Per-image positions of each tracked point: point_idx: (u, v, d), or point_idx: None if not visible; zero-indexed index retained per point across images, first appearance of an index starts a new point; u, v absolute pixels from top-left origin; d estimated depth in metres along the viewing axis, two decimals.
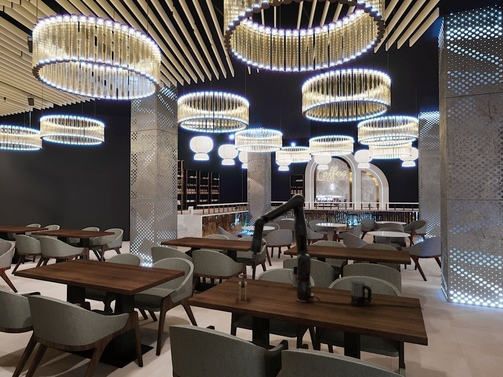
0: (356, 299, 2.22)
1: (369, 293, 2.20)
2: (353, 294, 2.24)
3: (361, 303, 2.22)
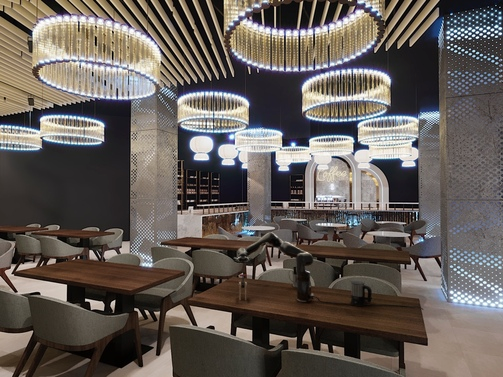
0: (356, 299, 2.22)
1: (369, 293, 2.20)
2: (353, 294, 2.24)
3: (361, 303, 2.22)
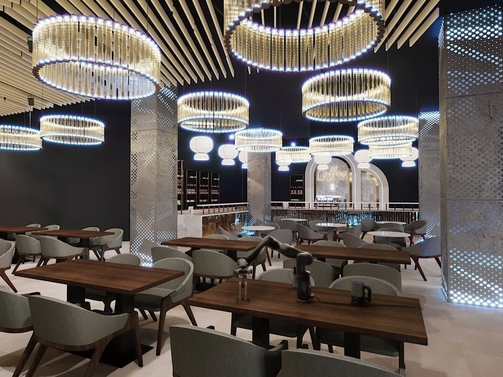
0: (356, 299, 2.22)
1: (369, 293, 2.20)
2: (353, 294, 2.24)
3: (361, 303, 2.22)
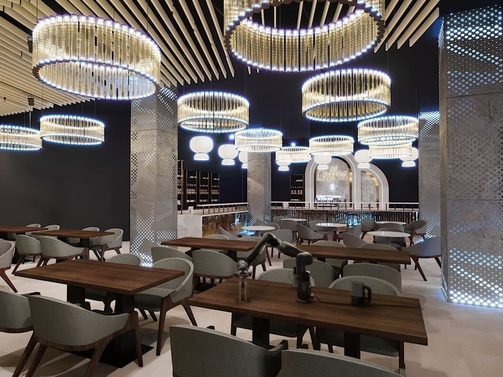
0: (356, 299, 2.22)
1: (369, 293, 2.20)
2: (353, 294, 2.24)
3: (361, 303, 2.22)
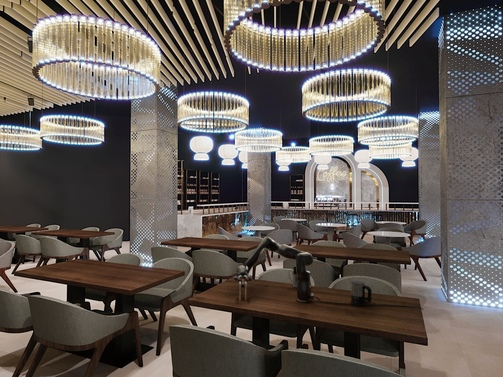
0: (356, 299, 2.22)
1: (369, 293, 2.20)
2: (353, 294, 2.24)
3: (361, 303, 2.22)
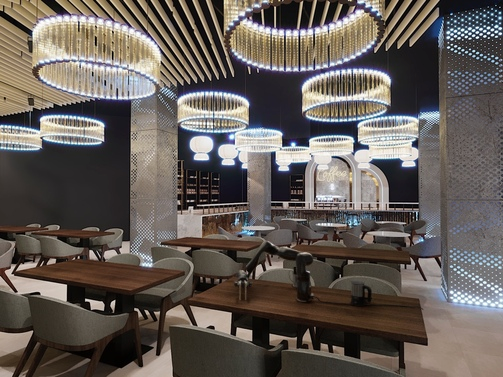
0: (356, 299, 2.22)
1: (369, 293, 2.20)
2: (353, 294, 2.24)
3: (361, 303, 2.22)
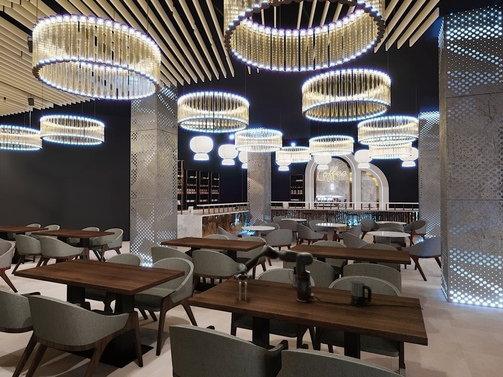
0: (356, 299, 2.22)
1: (369, 293, 2.20)
2: (353, 294, 2.24)
3: (361, 303, 2.22)
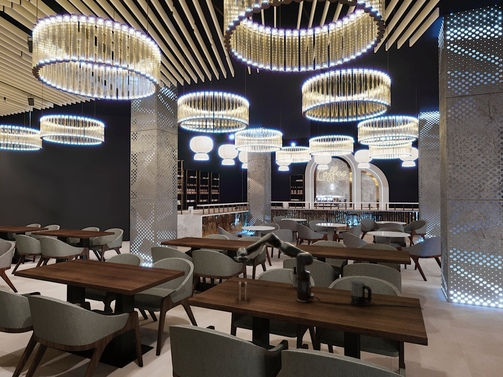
0: (356, 299, 2.22)
1: (369, 293, 2.20)
2: (353, 294, 2.24)
3: (361, 303, 2.22)
